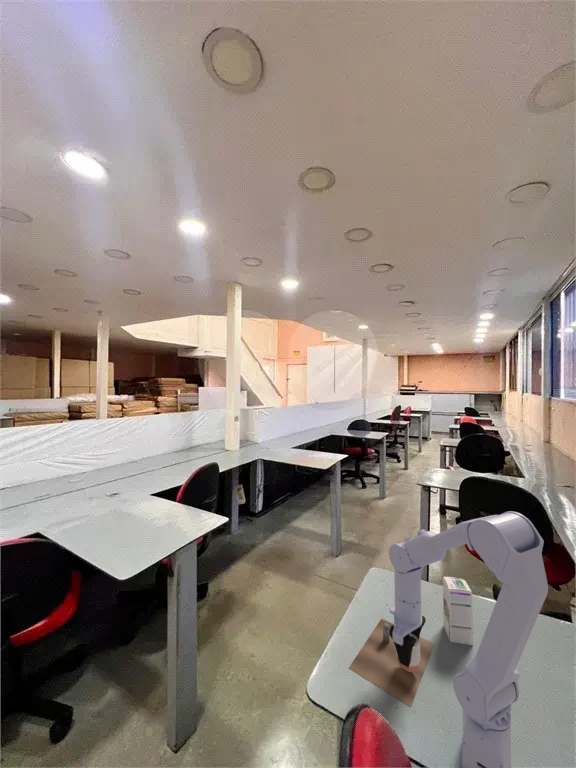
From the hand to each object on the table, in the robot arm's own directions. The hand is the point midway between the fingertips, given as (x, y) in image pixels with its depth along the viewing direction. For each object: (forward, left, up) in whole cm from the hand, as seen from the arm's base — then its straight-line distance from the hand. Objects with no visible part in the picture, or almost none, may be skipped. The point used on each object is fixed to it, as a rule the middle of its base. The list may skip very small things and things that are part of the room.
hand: (408, 655), depth 71 cm
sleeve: (0, 0, -1) cm, 1 cm away
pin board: (+2, +4, -4) cm, 6 cm away
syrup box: (+19, -7, -5) cm, 21 cm away
